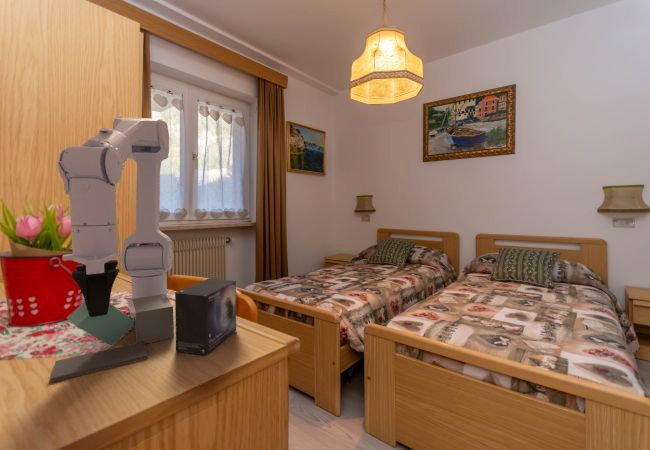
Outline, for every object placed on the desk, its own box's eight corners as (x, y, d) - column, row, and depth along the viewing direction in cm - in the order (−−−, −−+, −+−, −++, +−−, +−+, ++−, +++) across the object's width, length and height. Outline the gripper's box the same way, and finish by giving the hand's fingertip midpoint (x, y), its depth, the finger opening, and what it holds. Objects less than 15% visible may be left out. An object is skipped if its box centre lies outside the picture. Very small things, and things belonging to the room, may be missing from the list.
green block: (66, 317, 46) (95, 292, 49) (103, 338, 54) (127, 315, 57) (76, 326, 46) (105, 300, 48) (112, 345, 54) (135, 322, 56)
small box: (208, 356, 52) (207, 295, 51) (173, 352, 53) (171, 292, 52) (238, 330, 62) (237, 279, 61) (209, 328, 63) (207, 277, 63)
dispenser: (128, 328, 63) (127, 299, 62) (166, 321, 67) (165, 293, 66) (131, 346, 55) (130, 313, 55) (174, 337, 59) (172, 305, 58)
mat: (56, 364, 49) (55, 360, 49) (143, 344, 56) (143, 341, 56) (50, 382, 44) (50, 378, 44) (147, 358, 51) (147, 354, 51)
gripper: (66, 223, 52) (70, 303, 53) (54, 229, 40) (60, 332, 41) (117, 221, 56) (120, 295, 57) (120, 227, 44) (124, 320, 45)
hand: (99, 310), depth 49 cm, fingers closed on green block, 4 cm apart
